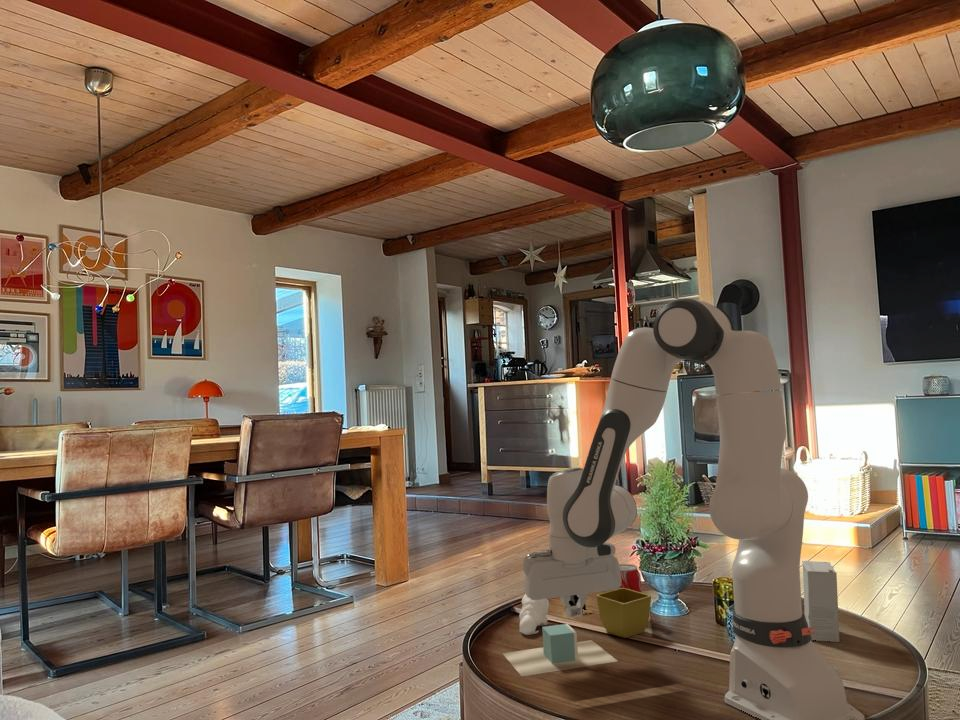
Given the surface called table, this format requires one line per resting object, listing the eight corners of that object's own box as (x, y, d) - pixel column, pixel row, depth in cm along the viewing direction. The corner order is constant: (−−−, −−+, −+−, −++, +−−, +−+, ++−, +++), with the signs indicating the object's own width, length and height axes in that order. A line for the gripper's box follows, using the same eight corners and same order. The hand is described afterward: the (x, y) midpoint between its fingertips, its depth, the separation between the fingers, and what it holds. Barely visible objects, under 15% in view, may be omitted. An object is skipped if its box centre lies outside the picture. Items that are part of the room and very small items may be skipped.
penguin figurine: (549, 586, 169) (537, 607, 157) (551, 622, 169) (540, 645, 158) (523, 586, 171) (510, 605, 159) (525, 621, 171) (513, 643, 160)
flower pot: (654, 636, 157) (652, 595, 157) (626, 646, 152) (623, 603, 152) (625, 627, 164) (623, 587, 165) (597, 635, 159) (595, 594, 160)
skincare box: (804, 628, 157) (799, 560, 158) (834, 629, 155) (829, 560, 156) (810, 641, 149) (805, 569, 150) (842, 643, 147) (837, 570, 148)
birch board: (618, 666, 141) (618, 661, 141) (522, 681, 136) (521, 676, 136) (591, 644, 154) (591, 640, 154) (502, 658, 149) (502, 653, 149)
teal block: (576, 632, 143) (550, 635, 142) (578, 660, 143) (551, 663, 142) (567, 623, 149) (542, 626, 147) (569, 650, 148) (543, 654, 147)
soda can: (643, 623, 166) (640, 570, 167) (612, 622, 167) (609, 570, 168) (642, 613, 173) (639, 563, 173) (613, 613, 174) (610, 563, 175)
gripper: (527, 556, 141) (531, 627, 141) (622, 545, 147) (626, 614, 146) (518, 550, 147) (521, 618, 147) (609, 539, 153) (613, 605, 152)
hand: (574, 616), depth 146 cm, fingers closed
